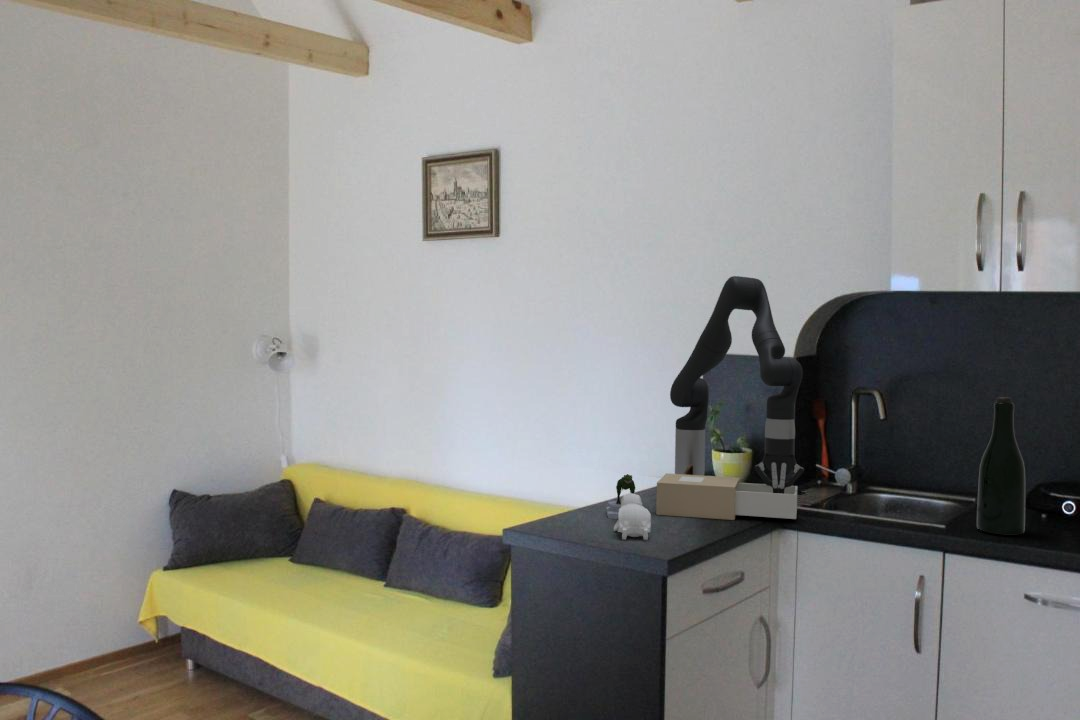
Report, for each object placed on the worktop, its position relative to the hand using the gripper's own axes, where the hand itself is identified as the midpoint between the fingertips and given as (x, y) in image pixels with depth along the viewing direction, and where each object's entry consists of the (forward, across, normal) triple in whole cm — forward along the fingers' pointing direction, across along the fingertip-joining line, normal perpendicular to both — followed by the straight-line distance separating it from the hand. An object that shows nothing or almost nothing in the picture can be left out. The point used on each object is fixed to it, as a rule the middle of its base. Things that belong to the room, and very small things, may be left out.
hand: (778, 502), depth 238 cm
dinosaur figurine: (+4, +38, +10) cm, 40 cm away
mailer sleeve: (+4, +20, 0) cm, 21 cm away
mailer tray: (+3, +5, 0) cm, 6 cm away
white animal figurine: (+4, +32, +32) cm, 46 cm away
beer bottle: (+4, -52, 0) cm, 53 cm away
